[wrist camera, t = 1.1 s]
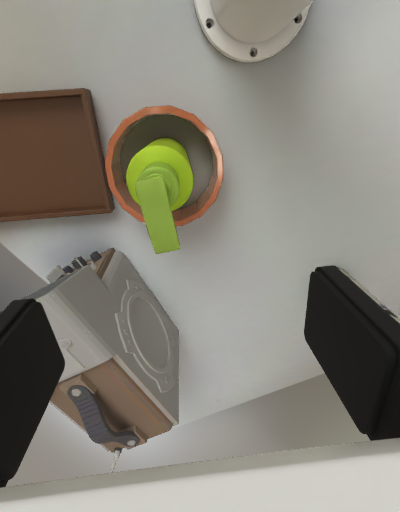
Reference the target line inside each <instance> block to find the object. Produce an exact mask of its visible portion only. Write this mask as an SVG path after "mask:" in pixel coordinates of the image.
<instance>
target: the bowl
mask: <svg viewBox="0 0 400 512" xmlns="http://www.w3.org/2000/svg"><path fill="white" fill-rule="evenodd" d="M157 115H174V116H176V117H179V118H182V119H184V120H187V121H190V122H191V123H192V124H193V125H194V126H195V127H196V128H197V129H198V130H199V131H200V132H201V133H202V134H203V135H204V137H205V139H206V141H207V143H208V146H209V148H210V150H211V152H212V168H213V173H212V175H211V178H210V181H209V184H208V187H207V189H206V191H205V192H204V193H203V194H202V195H201V196H200V197H199V199H198V200H197V201H196V202H195V203H193V204H191V205H189V206H187V207H185V208H183V209H181V210H174V211H172V215H173V219H174V223H175V226H183V225H185V224H187V223H189V222H191V221H193V220H195V219H197V218H199V217H201V216H202V215H203V214H204V213H205V212H206V210H207V209H208V208H209V207H210V206H211V205H212V204H213V203H214V201H215V200H216V198H217V195H218V192H219V189H220V187H221V184H222V181H223V156H222V153H221V151H220V149H219V146H218V144H217V142H216V139H215V137H214V135H213V133H212V132H211V131H210V130H209V129H208V128H207V127H206V126H205V125H204V124H203V123H202V122H201V121H200V120H199V119H198V118H197V117H196V116H195V115H194V114H191V113H188V112H186V111H183V110H181V109H178V108H175V107H173V106H158V107H145V108H143V109H141V110H140V111H138V112H136V113H134V114H133V115H131V116H129V117H127V118H126V119H124V120H123V121H122V123H121V124H120V125H119V127H118V128H117V130H116V131H115V133H114V134H113V136H112V137H111V138H110V140H109V144H108V150H107V155H106V160H105V169H106V174H107V178H108V183H109V188H110V190H111V191H112V193H113V194H114V196H115V197H116V199H117V201H118V202H119V204H120V205H121V207H122V208H123V209H124V210H126V211H127V212H128V213H130V214H131V215H132V216H134V217H135V218H136V219H138V220H139V221H141V222H144V223H145V220H144V216H143V213H142V209H141V206H140V205H139V204H138V203H137V202H136V201H135V200H134V199H133V198H132V196H131V194H130V192H129V190H128V187H127V185H126V183H125V182H124V180H123V177H122V171H121V166H120V155H121V150H122V146H123V141H124V140H125V138H126V137H127V135H128V134H129V133H130V131H131V130H132V128H133V127H134V126H135V125H136V124H138V123H140V122H142V121H143V120H145V119H147V118H149V117H150V116H157Z"/></svg>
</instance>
